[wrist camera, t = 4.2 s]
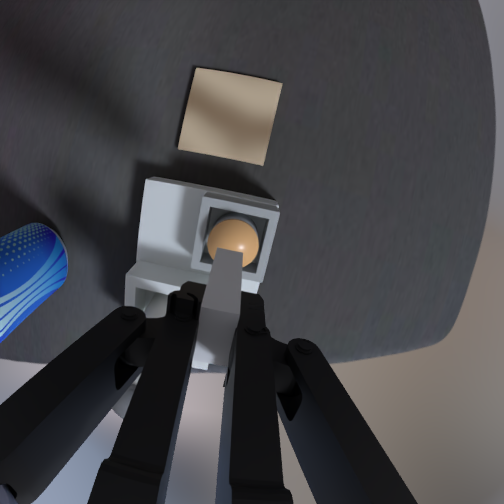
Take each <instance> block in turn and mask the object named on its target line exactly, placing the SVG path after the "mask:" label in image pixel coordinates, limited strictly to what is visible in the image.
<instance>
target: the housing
mask: <svg viewBox="0 0 504 504" xmlns="http://www.w3.org/2000/svg"><path fill="white" fill-rule="evenodd" d="M278 207H279V205H278V203H277V201H275V200H271V199H266V198H262V197H257V196H253V195H248V194H243V193H238V192H234V191H229V190H224V189H219V188H214V187H209V186H204V185H199V184H194V183H188V182H183V181H177V180H172V179H166V178H161V177H155V176H154V177H151V178H148V179H146V181H145V187H144V194H143V202H142V209H141V218H140V226H139V236H138V246H137V257H136V263H135V265H134V266H133V267H132V268H131V269H130V270H129V271H128V272H127V273H126V279H125V305H124V306H133V307H137V308H139V309H141V310H143V311H144V310H145V309H146V307H147V306H148V304H149V302H150V301H151V299H152V298H153V296H154V294H155V293H156V292H158V293H162V294H166V295H169V294H170V293H171V292H173V291H176V290H180V288H181V286H182V284H184V283H185V282H187V281H192V282H197V283H201V284H206V285H207V282H208V278H209V275H210V271H211V268H212V264H213V261H214V260H213V259H212V257H211V256H210V254H209V251H208V247H207V242H208V237H209V234H210V232H211V230H212V228H213V225H214V224H215V222H216V220H217V219H218V218H219V217H221V216H222V215H224V214H226V213H229V212H239V213H243V214H246V215H247V216H249V217H250V218H251V219H252V220H253V221H254V223H255V225H256V227H257V231H258V242H259V248H258V252H257V255H256V257H255V258H254V259H253V261H252V262H251V263H249V264H248V265H246V266H245V267H242V284H241V291H245V292H250V293H255V294H257V291H258V287H259V283H260V282H261V283H262V282H263V278H264V274H265V270H266V266H267V262H268V259H269V255H270V251H271V247H272V243H273V239H274V235H275V231H276V227H277V223H278V219H279V215H280V211H279V209H278ZM192 367H194V368H199V369H204V370H207V368H208V363H205V362H200V361H195V360H193V361H192Z"/></svg>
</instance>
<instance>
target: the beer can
mask: <svg viewBox="0 0 504 504" xmlns="http://www.w3.org/2000/svg"><path fill="white" fill-rule="evenodd" d="M67 272H68V255H67V250H66V247H65V245H64V243H63V241H62V239H61V238H60V236H59V235H58V234H57V233H56V232H55V231H54V230H52V229H51V228H49V227H47V226H46V225H44V224H41V223H30V224H27V225H25V226H23V227H21V228H19V229H17V230H15V231H13V232H11V233H8V234H6V235H4V236H2V237H0V343H1V342H2V341H3V340H4V339H5V338H6V337H7V336H8V335H9V334H10V333H11V332H12V331H13V330H14V329H15V328H16V327H17V326H18V325H19V324H20V323H21V322H22V321H23V320H24V319H25V318H26V317H27V316H29V315H30V314H31V313H32V312H33V311H34V310H35V309H36V308H37V307H38V306H39V305H40V304H41V303H43V302H44V301H45V300H46V299H47V298H48V297H49V296H50V295H51V294H53V293H54V292H55V291H56V290H57V289H58V288H59V287H60V286H62V284H63V283H64V281H65V279H66V276H67Z"/></svg>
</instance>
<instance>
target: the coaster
mask: <svg viewBox="0 0 504 504" xmlns="http://www.w3.org/2000/svg"><path fill="white" fill-rule="evenodd" d="M281 87H282V83H278V82H274V81H270V80H265V79H260V78H256V77H251V76H246V75H240V74H235V73H229V72H223V71H216V70H210V69H202V68H196V71H195V75H194V79H193V83H192V87H191V91H190V95H189V99H188V104H187V108H186V112H185V117H184V121H183V126H182V131H181V135H180V140H179V145H178V149H180V150H186V151H192V152H198V153H203V154H208V155H214V156H219V157H224V158H229V159H234V160H239V161H244V162H248V163H253V164H258V165H262V166H263V164H264V160H265V156H266V151H267V147H268V143H269V138H270V134H271V130H272V126H273V121H274V117H275V113H276V109H277V104H278V100H279V96H280V92H281Z"/></svg>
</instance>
